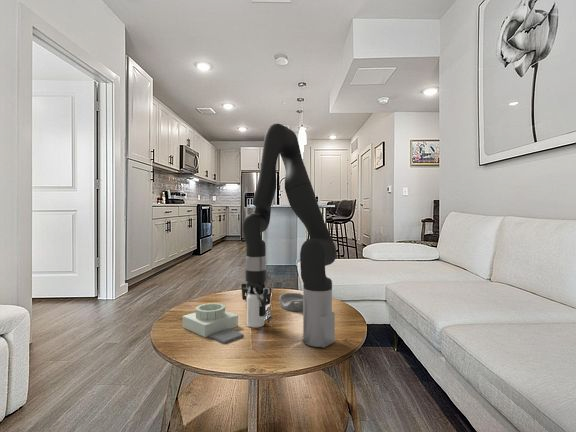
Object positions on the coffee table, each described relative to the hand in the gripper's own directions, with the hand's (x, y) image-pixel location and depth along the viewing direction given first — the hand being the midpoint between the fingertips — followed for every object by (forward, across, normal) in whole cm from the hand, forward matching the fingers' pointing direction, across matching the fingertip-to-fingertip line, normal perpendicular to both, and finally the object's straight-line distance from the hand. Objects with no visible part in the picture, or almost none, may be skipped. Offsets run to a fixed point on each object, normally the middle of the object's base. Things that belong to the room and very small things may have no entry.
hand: (255, 313), depth 115 cm
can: (+4, 0, 0) cm, 4 cm away
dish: (+5, +4, -27) cm, 28 cm away
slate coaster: (+4, -1, +14) cm, 15 cm away
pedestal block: (+4, +11, +12) cm, 17 cm away
